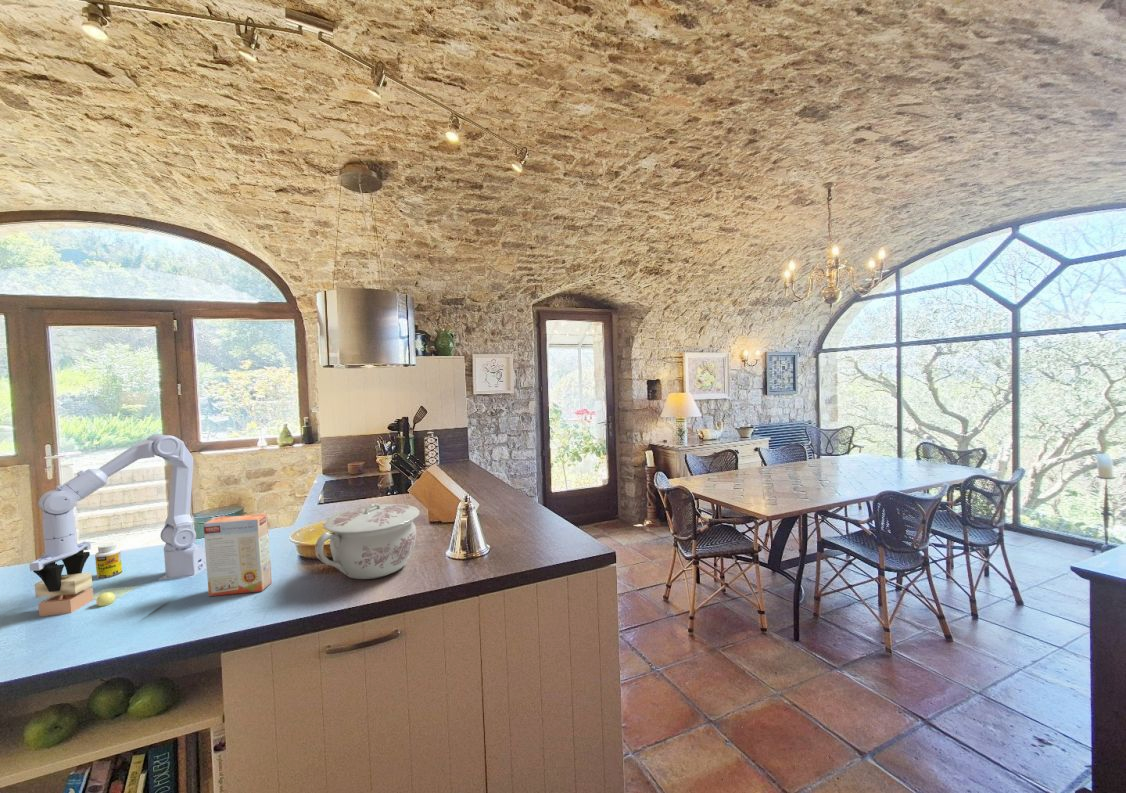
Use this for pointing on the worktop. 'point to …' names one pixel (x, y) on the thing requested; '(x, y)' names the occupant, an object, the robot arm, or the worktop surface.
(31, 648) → the worktop surface
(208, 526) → the cracker box
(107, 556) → the supplement bottle
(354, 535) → the chamber pot
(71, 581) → the lid
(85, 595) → the pink open box
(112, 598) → the yellow ball
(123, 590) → the mat
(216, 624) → the worktop surface
